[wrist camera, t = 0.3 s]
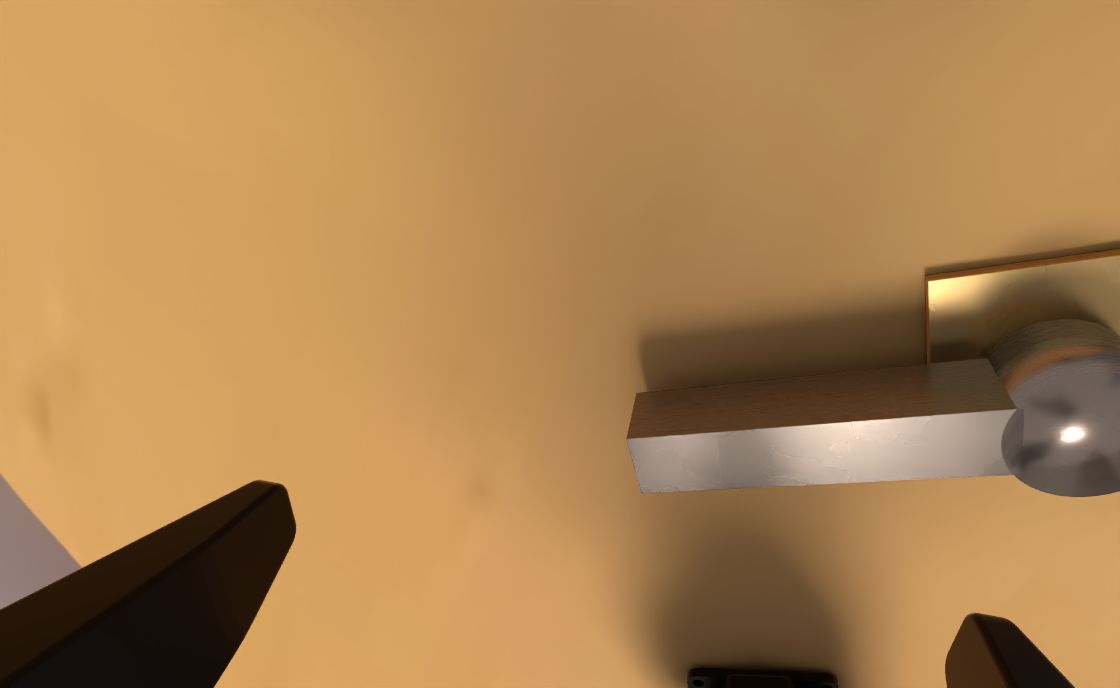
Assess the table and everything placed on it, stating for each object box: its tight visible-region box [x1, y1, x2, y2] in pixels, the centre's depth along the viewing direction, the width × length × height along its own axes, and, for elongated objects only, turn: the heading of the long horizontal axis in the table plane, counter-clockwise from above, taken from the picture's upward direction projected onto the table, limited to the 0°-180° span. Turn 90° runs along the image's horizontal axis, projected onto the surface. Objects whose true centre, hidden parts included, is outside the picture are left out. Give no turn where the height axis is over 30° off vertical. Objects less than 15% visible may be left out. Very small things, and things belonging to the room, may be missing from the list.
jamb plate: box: [925, 249, 1120, 364], centre depth 20 cm, size 7×6×1 cm
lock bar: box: [627, 319, 1120, 497], centre depth 20 cm, size 14×4×3 cm, turn 106°
